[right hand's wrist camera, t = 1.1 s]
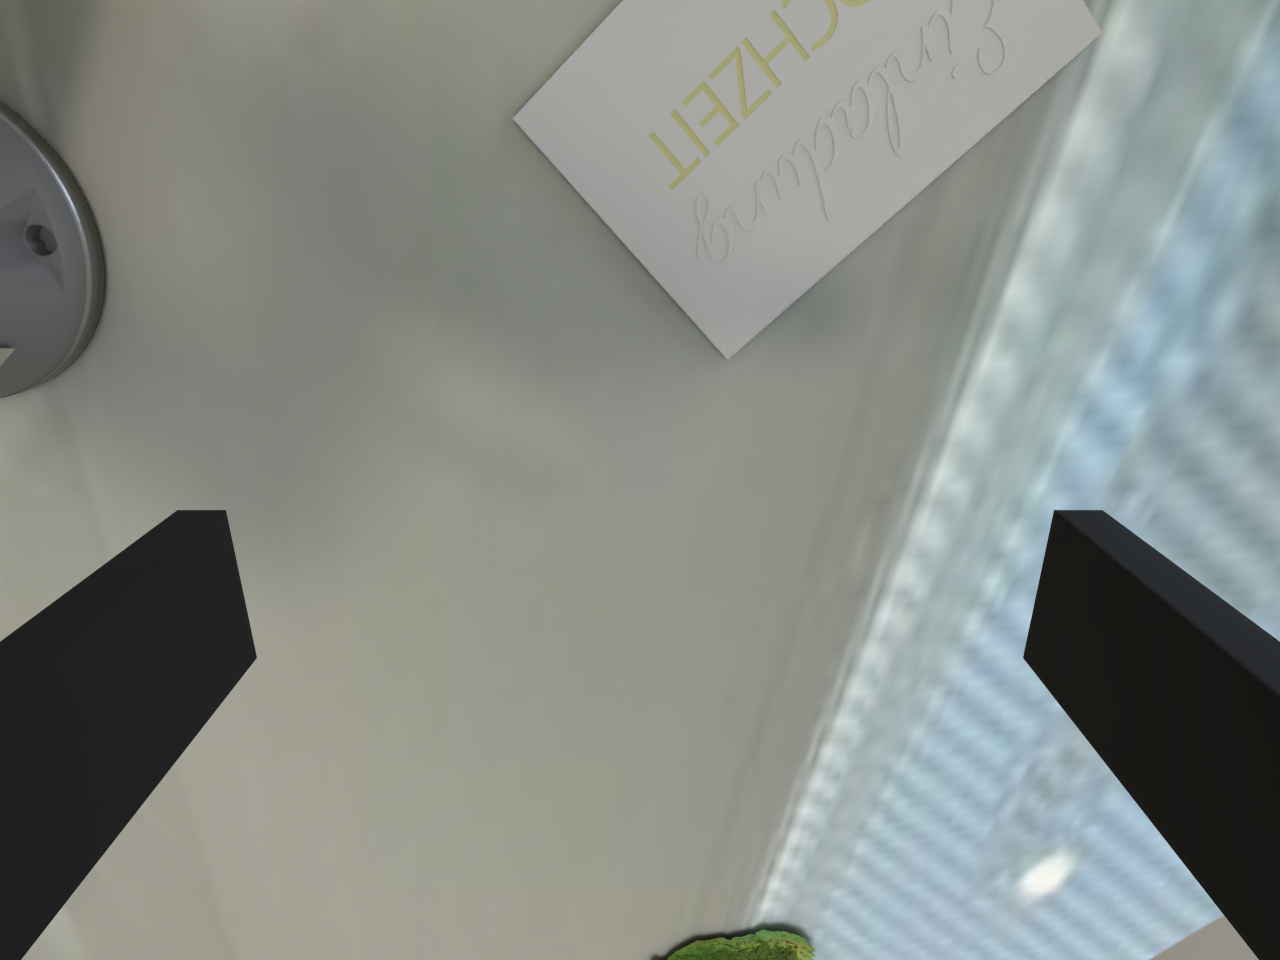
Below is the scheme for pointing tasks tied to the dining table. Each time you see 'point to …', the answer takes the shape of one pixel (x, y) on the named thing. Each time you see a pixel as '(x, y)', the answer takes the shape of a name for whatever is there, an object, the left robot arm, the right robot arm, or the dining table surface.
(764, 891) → the dining table surface
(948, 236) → the dining table surface
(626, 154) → the invitation card
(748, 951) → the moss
